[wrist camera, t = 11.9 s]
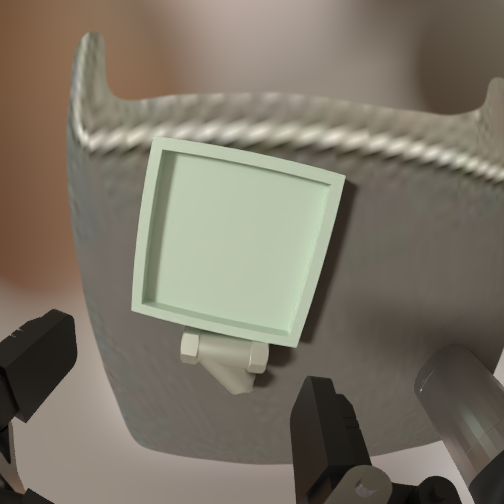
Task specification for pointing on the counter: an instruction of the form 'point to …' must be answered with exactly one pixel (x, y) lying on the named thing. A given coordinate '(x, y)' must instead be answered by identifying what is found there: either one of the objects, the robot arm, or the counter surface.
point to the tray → (232, 239)
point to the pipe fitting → (225, 357)
